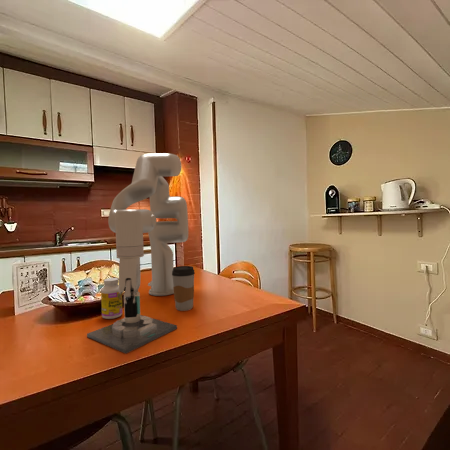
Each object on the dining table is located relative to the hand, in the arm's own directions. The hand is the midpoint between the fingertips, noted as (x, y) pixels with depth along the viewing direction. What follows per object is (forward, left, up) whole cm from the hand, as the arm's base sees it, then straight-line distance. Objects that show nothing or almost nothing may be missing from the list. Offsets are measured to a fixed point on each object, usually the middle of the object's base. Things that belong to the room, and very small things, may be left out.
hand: (132, 313), depth 82 cm
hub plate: (0, 0, -6) cm, 6 cm away
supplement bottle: (-18, +5, -6) cm, 20 cm away
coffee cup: (-2, +24, -6) cm, 25 cm away
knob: (0, 0, -2) cm, 2 cm away
